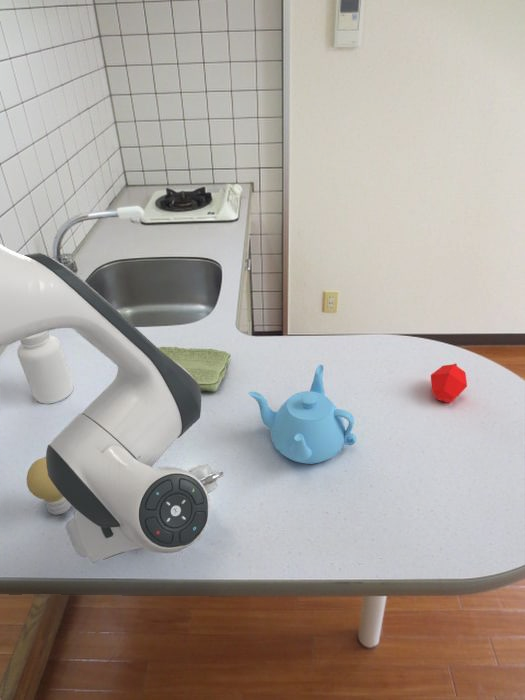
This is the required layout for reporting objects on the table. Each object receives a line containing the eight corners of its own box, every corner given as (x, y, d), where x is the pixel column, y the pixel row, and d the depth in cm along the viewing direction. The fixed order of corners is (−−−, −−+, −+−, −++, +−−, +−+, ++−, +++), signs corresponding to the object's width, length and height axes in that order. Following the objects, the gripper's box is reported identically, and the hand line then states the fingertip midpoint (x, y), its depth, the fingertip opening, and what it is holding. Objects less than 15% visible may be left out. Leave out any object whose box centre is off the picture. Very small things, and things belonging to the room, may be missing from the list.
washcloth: (219, 396, 104) (218, 383, 103) (135, 390, 107) (132, 378, 105) (232, 358, 115) (231, 346, 113) (155, 353, 118) (153, 341, 116)
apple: (457, 392, 95) (472, 358, 98) (421, 384, 99) (436, 352, 102) (463, 413, 99) (476, 380, 103) (428, 405, 103) (442, 373, 107)
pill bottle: (34, 385, 110) (12, 324, 101) (74, 377, 112) (55, 316, 103) (32, 408, 103) (8, 346, 95) (74, 399, 105) (55, 337, 97)
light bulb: (38, 528, 80) (18, 484, 74) (41, 496, 85) (23, 453, 79) (81, 518, 81) (65, 474, 76) (82, 487, 86) (67, 443, 81)
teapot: (366, 453, 90) (371, 408, 84) (291, 488, 85) (291, 442, 79) (319, 405, 101) (321, 362, 95) (250, 433, 95) (247, 389, 90)
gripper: (217, 449, 69) (194, 455, 82) (60, 518, 61) (61, 513, 73) (236, 494, 68) (210, 494, 81) (79, 570, 60) (77, 556, 73)
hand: (138, 503), depth 77 cm, fingers closed on pad block, 4 cm apart
